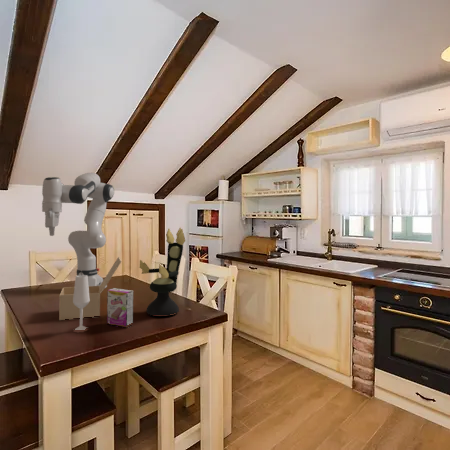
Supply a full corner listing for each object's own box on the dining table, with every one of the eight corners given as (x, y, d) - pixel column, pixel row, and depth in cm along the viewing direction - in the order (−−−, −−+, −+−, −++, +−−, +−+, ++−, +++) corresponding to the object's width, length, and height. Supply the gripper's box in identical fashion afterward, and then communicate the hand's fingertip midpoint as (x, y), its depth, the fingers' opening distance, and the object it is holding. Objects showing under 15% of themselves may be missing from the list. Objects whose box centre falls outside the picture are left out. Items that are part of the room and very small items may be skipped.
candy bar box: (106, 325, 147) (106, 290, 147) (113, 321, 152) (113, 287, 152) (126, 328, 144) (127, 292, 143) (133, 325, 149) (133, 290, 148)
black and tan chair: (137, 312, 167) (138, 226, 165) (170, 304, 184) (172, 226, 182) (159, 321, 155) (161, 228, 153) (192, 311, 171) (195, 227, 170)
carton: (59, 320, 152) (59, 295, 151) (62, 310, 167) (62, 287, 166) (99, 316, 159) (100, 292, 158) (99, 307, 173) (100, 285, 173)
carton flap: (120, 261, 161) (121, 261, 161) (118, 256, 176) (119, 257, 176) (100, 292, 158) (101, 293, 158) (100, 285, 173) (101, 286, 173)
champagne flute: (86, 333, 137) (86, 277, 136) (70, 333, 137) (70, 277, 136) (91, 327, 144) (92, 274, 143) (76, 327, 144) (76, 274, 143)
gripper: (56, 208, 155) (56, 237, 156) (61, 208, 174) (60, 234, 175) (41, 208, 153) (41, 237, 153) (48, 208, 172) (47, 234, 172)
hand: (51, 235), depth 164 cm, fingers closed
